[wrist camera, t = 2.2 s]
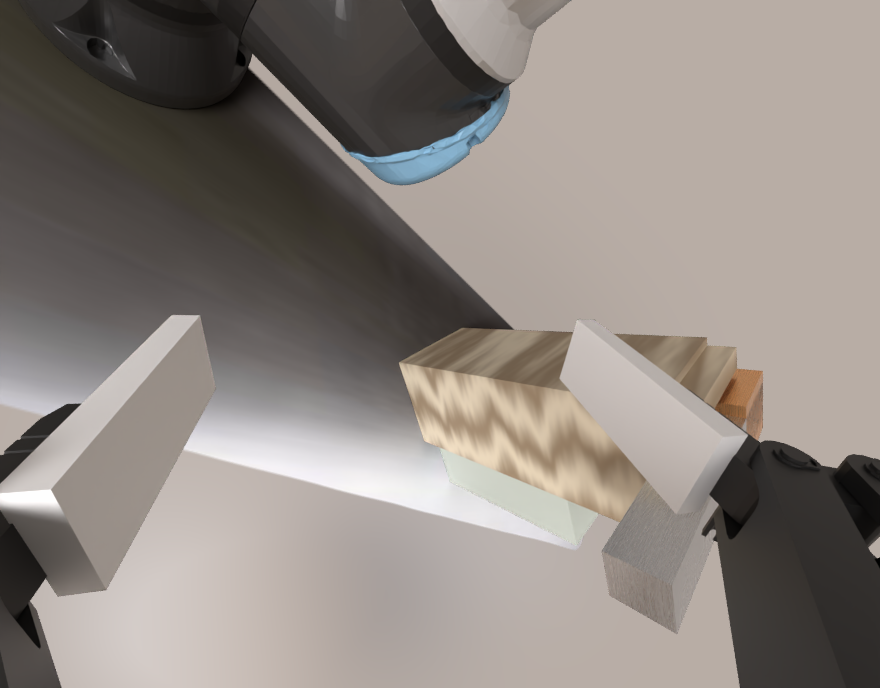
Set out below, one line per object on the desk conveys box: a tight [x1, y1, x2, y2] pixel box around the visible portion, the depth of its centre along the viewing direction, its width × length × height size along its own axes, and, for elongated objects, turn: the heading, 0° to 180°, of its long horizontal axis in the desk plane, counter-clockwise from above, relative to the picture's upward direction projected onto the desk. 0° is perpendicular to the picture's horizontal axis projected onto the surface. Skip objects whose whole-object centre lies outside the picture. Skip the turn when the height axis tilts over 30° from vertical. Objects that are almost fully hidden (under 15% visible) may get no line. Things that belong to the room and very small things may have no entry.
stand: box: [399, 328, 737, 522], centre depth 41 cm, size 12×12×32 cm
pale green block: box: [439, 447, 599, 546], centre depth 50 cm, size 7×14×20 cm, turn 110°
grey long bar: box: [602, 369, 763, 634], centre depth 26 cm, size 6×22×4 cm, turn 110°
